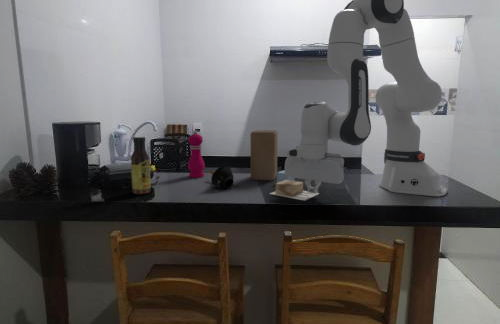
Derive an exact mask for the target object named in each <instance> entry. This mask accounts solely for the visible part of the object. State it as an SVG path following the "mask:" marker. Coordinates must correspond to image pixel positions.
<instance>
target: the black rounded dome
mask: <svg viewBox="0 0 500 324" xmlns="http://www.w3.org/2000/svg"><path fill="white" fill-rule="evenodd" d="M209 173H210V174H211V178H210V179H211V184H212V185H213V186H214V187H216V188H219V189H230V188H232V187H233V186H234V174H233V171H232V169H231V168H230V167H229V166H227V165H223V166H220V167H217V168H216V169H215V170H210V172H209Z"/></svg>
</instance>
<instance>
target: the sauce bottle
mask: <svg viewBox="0 0 500 324" xmlns="http://www.w3.org/2000/svg"><path fill="white" fill-rule="evenodd" d="M132 137H133V136H132ZM132 140H133V152H132V154H131V156H130V159H131V160H130V161H131V162H130V163H131V164H130V169H131V170H130V171H131V172H130V173H131V188H132V193H133V194H134V195H145V194H149V193H150V192H151V168H150V167H151V163H150V157H149V154H148V152H147V150H146V136H135V137H133V138H132Z"/></svg>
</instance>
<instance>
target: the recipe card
mask: <svg viewBox="0 0 500 324" xmlns="http://www.w3.org/2000/svg"><path fill="white" fill-rule="evenodd" d="M307 191H308V190H303V192H302V193H300V194H297V195H295V196H288V195H283V194H277V193H276V190H275V191H272V192H269V195H273V196H277V197H279V196H280V197H283V198H289V199H294V200H300V201H304V202H305V201H307V200H310V199H311V198H313V197H315V196H318V195H319V194H320V193H319V192H317V193H316V194H314V193H308V192H307Z"/></svg>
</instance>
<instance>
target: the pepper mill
mask: <svg viewBox="0 0 500 324" xmlns="http://www.w3.org/2000/svg"><path fill="white" fill-rule="evenodd" d="M203 141H204V139H203V137H202V135H201V134H198V130H193V132H192V134H191V135H189V137H188V144H190V145H189V149H190V158H189V161H188V164H187V168H188V170H189V171H190V172H189V178H193V179H197V178H198V179H199V178H203V177H204V176H205V172H204V169H206V166H205V161H204V159H203V156H202V151H201V150H202V143H203Z"/></svg>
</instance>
